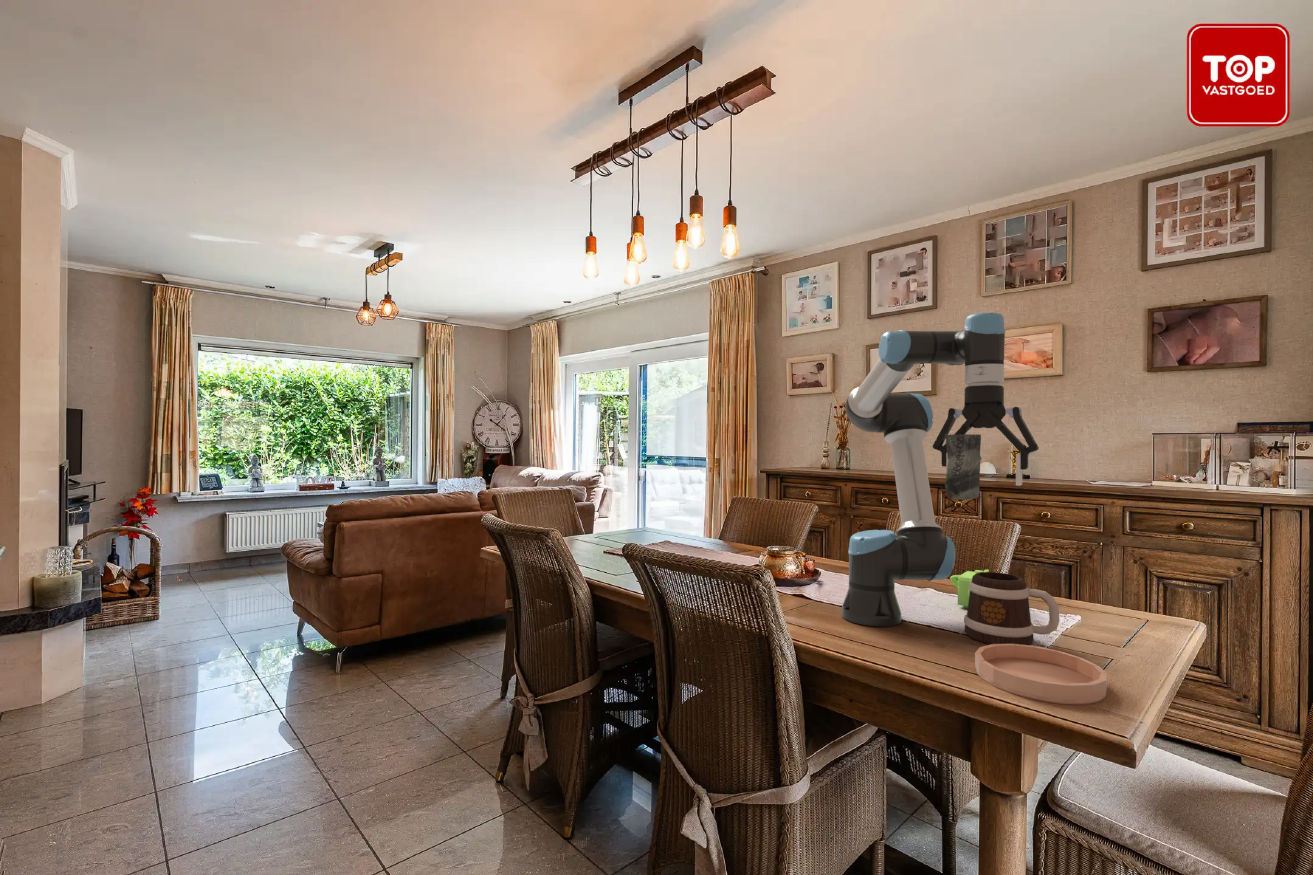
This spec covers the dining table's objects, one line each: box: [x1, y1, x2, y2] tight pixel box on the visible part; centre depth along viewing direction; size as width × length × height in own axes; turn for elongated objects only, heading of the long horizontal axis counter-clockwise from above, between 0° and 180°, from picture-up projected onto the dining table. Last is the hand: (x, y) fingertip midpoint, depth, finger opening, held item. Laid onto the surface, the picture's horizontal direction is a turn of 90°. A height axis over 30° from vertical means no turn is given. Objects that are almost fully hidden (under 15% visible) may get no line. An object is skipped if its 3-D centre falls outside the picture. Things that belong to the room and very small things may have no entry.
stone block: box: [944, 433, 982, 500], centre depth 133 cm, size 9×14×5 cm
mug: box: [963, 571, 1060, 646], centre depth 145 cm, size 20×15×15 cm
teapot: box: [949, 569, 990, 609], centre depth 173 cm, size 15×13×11 cm
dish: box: [974, 644, 1108, 706], centre depth 121 cm, size 22×22×4 cm
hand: (983, 483), depth 131 cm, fingers open, 13 cm apart
